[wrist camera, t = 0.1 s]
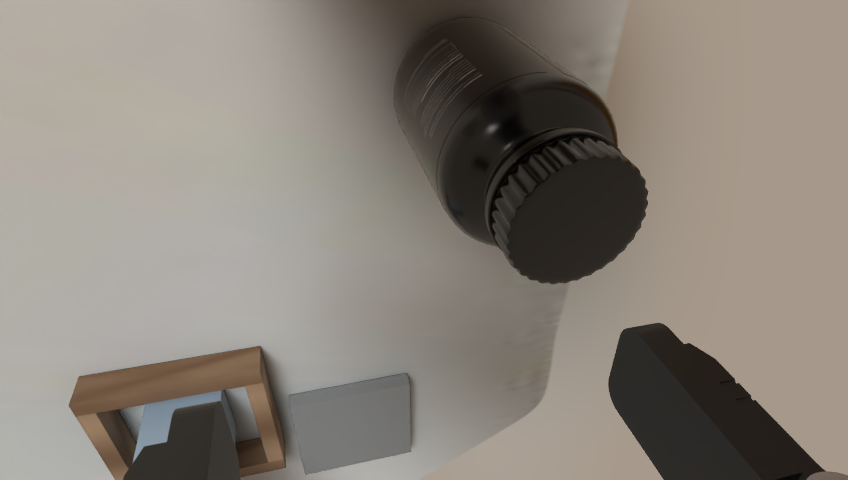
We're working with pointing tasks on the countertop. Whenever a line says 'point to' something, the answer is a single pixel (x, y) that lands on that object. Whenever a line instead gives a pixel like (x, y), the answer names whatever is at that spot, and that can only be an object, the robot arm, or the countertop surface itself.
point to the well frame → (174, 380)
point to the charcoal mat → (352, 422)
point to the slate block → (161, 413)
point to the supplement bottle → (518, 150)
